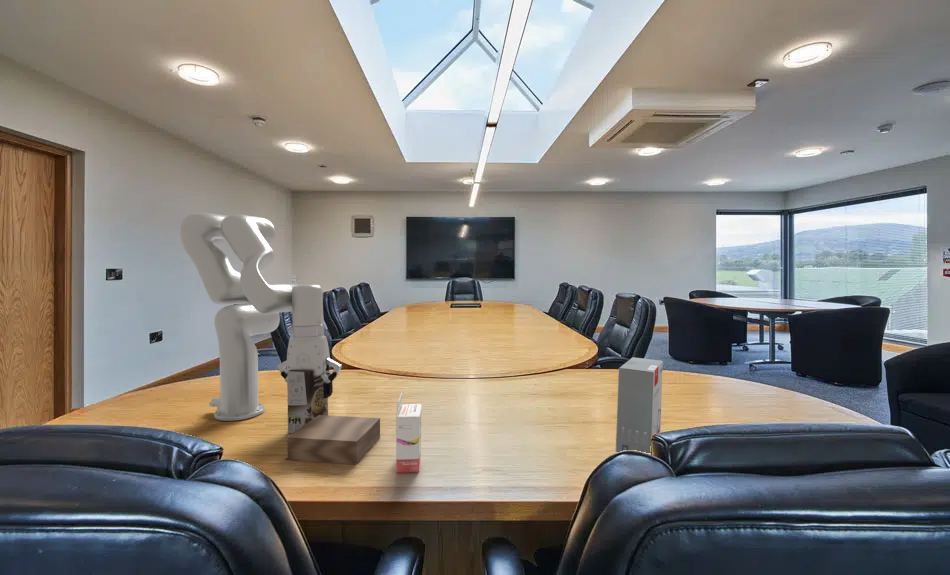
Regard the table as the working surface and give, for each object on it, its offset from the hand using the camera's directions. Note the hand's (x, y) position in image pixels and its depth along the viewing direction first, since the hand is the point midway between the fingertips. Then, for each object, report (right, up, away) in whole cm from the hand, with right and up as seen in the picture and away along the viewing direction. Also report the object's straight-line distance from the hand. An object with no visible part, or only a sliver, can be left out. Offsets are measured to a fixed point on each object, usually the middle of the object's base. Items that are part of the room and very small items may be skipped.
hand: (310, 396), depth 107 cm
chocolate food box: (-1, -9, +1) cm, 9 cm away
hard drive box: (+83, -10, -10) cm, 84 cm away
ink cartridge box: (+29, -10, -19) cm, 36 cm away
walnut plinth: (+11, -9, -12) cm, 18 cm away
